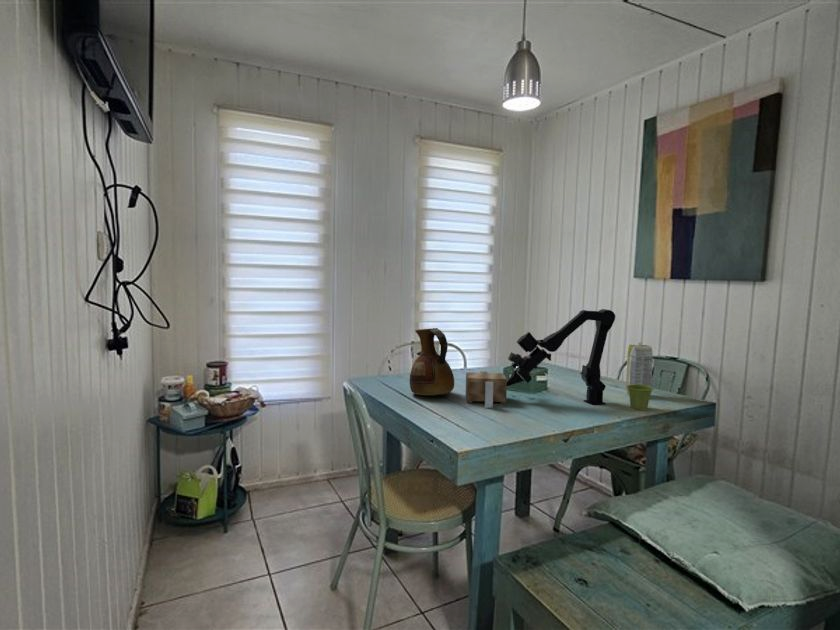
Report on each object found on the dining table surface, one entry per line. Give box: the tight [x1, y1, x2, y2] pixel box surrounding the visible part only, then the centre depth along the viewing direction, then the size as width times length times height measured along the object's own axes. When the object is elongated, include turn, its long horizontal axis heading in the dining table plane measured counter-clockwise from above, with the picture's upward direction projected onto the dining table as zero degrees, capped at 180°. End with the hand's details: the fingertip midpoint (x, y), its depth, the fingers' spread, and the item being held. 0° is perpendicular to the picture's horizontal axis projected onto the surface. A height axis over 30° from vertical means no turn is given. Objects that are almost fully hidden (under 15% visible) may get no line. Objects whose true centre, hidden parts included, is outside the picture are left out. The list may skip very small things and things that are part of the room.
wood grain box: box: [465, 372, 508, 405], centre depth 197 cm, size 16×12×10 cm
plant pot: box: [627, 385, 654, 411], centre depth 187 cm, size 9×9×9 cm
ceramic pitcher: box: [409, 327, 455, 396], centre depth 204 cm, size 20×20×30 cm
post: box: [484, 382, 494, 409], centre depth 186 cm, size 3×3×10 cm
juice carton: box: [625, 342, 654, 397], centre depth 207 cm, size 9×8×24 cm
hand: (506, 385), depth 197 cm, fingers closed
